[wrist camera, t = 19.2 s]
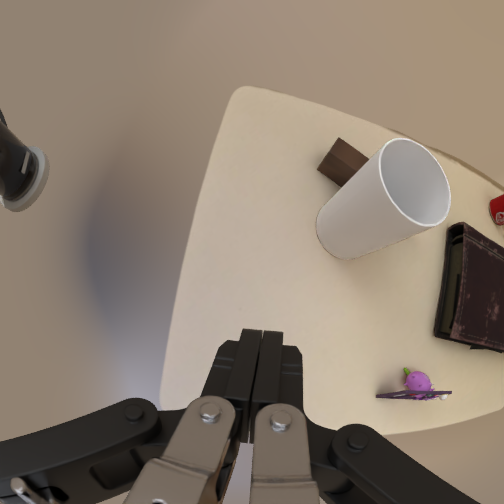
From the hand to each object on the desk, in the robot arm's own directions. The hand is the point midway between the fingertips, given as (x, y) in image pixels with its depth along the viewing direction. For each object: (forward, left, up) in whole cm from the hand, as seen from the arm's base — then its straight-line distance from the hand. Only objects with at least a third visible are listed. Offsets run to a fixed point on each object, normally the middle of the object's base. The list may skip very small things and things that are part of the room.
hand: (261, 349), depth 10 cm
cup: (0, +18, -22) cm, 29 cm away
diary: (+26, +34, -22) cm, 48 cm away
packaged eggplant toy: (+23, +12, -22) cm, 34 cm away
